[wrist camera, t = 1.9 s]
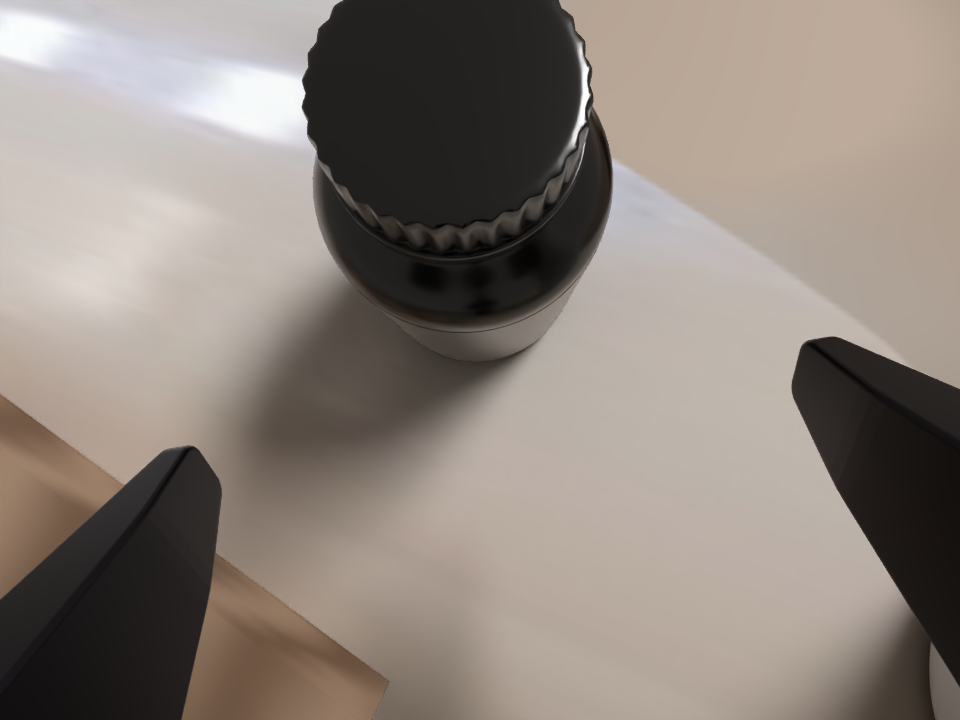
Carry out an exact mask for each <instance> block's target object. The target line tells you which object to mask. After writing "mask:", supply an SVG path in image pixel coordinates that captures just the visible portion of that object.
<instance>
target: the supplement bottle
mask: <svg viewBox="0 0 960 720" xmlns="http://www.w3.org/2000/svg"><path fill="white" fill-rule="evenodd" d="M591 77H592V67H591V65H590V63H589V61H588V60H587V59H586V57H585V41H584V39H583V38H582V37H581V36H580V35H579V34H578V33H577V32H576V31H575V24H574V19H573V17H572V16H571V15H570V14H569V13H568V12H566V11H565V10H564V9H562V8H561V6H560V3H559V0H343V1H341V2H339V3H338V4H336V5H335V6H334V7H333V10H332V12H331V15H330V18H329V20H328V21H326V22H325V23H324V24H323V25H322V26H321V27H320V28H319V29H318V34H317V42H316V43H315V45H314V46H313V47H312V48H311V50H310V51H309V52H308V69H307V71H306V72H305V74H304V77H303V79H302V83H303V87H304V90H305V93H306V94H305V98H304V100H303V104H302V110H303V113H304V115H305V117H306V119H307V121H308V125H307V135H308V139H309V141H310V142H311V144H312V145H313V147H314V148H315V149H316V151H317V152H316V157H315V163H314V171H313V198H314V205H315V212H316V216H317V220H318V224H319V228H320V231H321V233H322V236H323V239H324V241H325V244H326V246H327V248H328V250H329V252H330V254H331V255H332V257H333V259H334V260H335V262H336V264H337V265H338V267H339V268H340V269H341V271H342V272H343V273H344V274H345V276H346V277H347V278H348V280H349V281H350V282H351V283H352V284H353V285H354V286H355V287H356V289H357V290H358V291H359V292H360V293H361V294H362V295H363V296H365V297H366V298H367V299H368V300H369V301H370V302H372V303H373V304H374V305H375V306H376V307H377V308H378V309H380V310H381V311H382V312H383V313H384V314H385V315H387V316H388V317H389V318H390V319H391V320H392V321H394V322H395V323H396V324H397V325H398V326H399V327H400V328H402V329H403V330H404V331H405V332H406V333H407V334H409V335H410V336H411V337H412V338H413V339H415V340H416V341H418V342H419V343H420V344H422V345H423V346H425V347H426V348H428V349H430V350H432V351H433V352H436V353H438V354H440V355H443V356H446V357H449V358H453V359H457V360H463V361H477V362H480V361H490V360H496V359H500V358H504V357H507V356H510V355H512V354H515V353H517V352H519V351H521V350H523V349H525V348H526V347H528V346H530V345H531V344H533V343H534V342H535V341H536V340H538V339H539V338H540V337H541V336H542V335H543V334H544V333H545V332H546V331H547V330H548V329H549V328H550V327H551V326H552V325H553V323H554V322H555V320H556V319H557V318H558V316H559V315H560V313H561V312H562V310H563V308H564V306H565V305H566V303H567V301H568V299H569V298H570V296H571V294H572V292H573V291H574V289H575V287H576V285H577V284H578V282H579V280H580V279H581V277H582V275H583V273H584V272H585V270H586V268H587V266H588V265H589V263H590V261H591V259H592V257H593V256H594V254H595V252H596V250H597V248H598V245H599V243H600V241H601V238H602V236H603V233H604V230H605V227H606V224H607V221H608V217H609V213H610V208H611V203H612V194H613V168H612V159H611V154H610V149H609V144H608V141H607V137H606V134H605V131H604V129H603V126H602V124H601V122H600V119H599V117H598V115H597V113H596V112H595V110H594V108H593V106H592V105H593V93H592V89H591V87H590V82H591Z"/></svg>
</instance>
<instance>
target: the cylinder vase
mask: <svg viewBox="0 0 960 720" xmlns="http://www.w3.org/2000/svg"><path fill="white" fill-rule="evenodd" d="M929 678H930V692H931V699H932V705H933V711H934V715H935V720H960V687H959V686H958V684H957V683H956V681H955V679H954V678H953V676H952V675H951V673H950V671H949V670H948V668H947V667H946V665H945V663H944V662H943V660H942V658H941V657H940V655H939V654H938V652H937V650H936V649H935V647H934V646H933V644H932V642H931V647H930V660H929Z"/></svg>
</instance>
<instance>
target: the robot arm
mask: <svg viewBox="0 0 960 720" xmlns="http://www.w3.org/2000/svg"><path fill="white" fill-rule="evenodd" d="M792 394H793V398H794V400H795V403H796V405H797V407H798V409H799V411H800V413H801V415H802V417H803V420H804V422H805V424H806V426H807V428H808V430H809V432H810V434H811V437H812V439H813V441H814V443H815V445H816V447H817V449H818V451H819V453H820V456H821V458H822V460H823V462H824V464H825V466H826V468H827V470H828V473H829V475H830V477H831V478H832V480H833V482H834V484H835V486H836V488H837V490H838V492H839V493H840V495H841V497H842V498H843V500H844V502H845V504H846V505H847V507H848V508H849V510H850V512H851V513H852V515H853V516H854V518H855V520H856V521H857V523H858V524H859V526H860V528H861V529H862V531H863V533H864V534H865V536H866V537H867V539H868V541H869V542H870V544H871V545H872V547H873V549H874V550H875V552H876V554H877V555H878V557H879V558H880V560H881V562H882V563H883V565H884V566H885V568H886V570H887V571H888V573H889V575H890V576H891V578H892V579H893V581H894V583H895V584H896V586H897V587H898V589H899V591H900V592H901V594H902V595H903V597H904V599H905V600H906V602H907V604H908V605H909V607H910V608H911V610H912V612H913V613H914V615H915V616H916V618H917V620H918V621H919V623H920V625H921V626H922V628H923V629H924V631H925V633H926V634H927V636H928V637H929V639H930V641H931V642H932V644H933V646H934V647H935V649H936V650H937V652H938V654H939V655H940V657H941V658H942V660H943V662H944V663H945V665H946V667H947V668H948V670H949V671H950V673H951V675H952V676H953V678H954V679H955V681H956V683H957V684H958V686H959V687H960V389H958V388H956V387H953V386H951V385H949V384H946V383H944V382H942V381H939V380H937V379H935V378H932V377H930V376H928V375H925V374H923V373H921V372H918V371H916V370H914V369H911V368H909V367H907V366H904V365H902V364H900V363H897V362H895V361H893V360H890V359H888V358H886V357H883V356H881V355H879V354H876V353H874V352H872V351H869V350H867V349H865V348H862V347H860V346H858V345H855V344H853V343H851V342H848V341H846V340H844V339H841V338H838V337H824V338H818V339H812V340H808V341H806V342H805V343H804V344H803V345H802V346H801V348H800V352H799V356H798V359H797V363H796V367H795V371H794V375H793V379H792ZM221 497H222V489H221V484H220V481H219V479H218V477H217V476H216V474H215V473H214V471H213V470H212V468H211V467H210V466H209V464H208V463H207V461H206V460H205V458H204V457H203V455H202V454H201V452H200V451H199V450H198V449H197V448H196V447H194V446H189V445H188V446H182V447H176V448H170V449H167V450H164V451H162V452H161V453H160V454H159V455H158V456H157V457H155V458H154V459H153V460H152V461H151V462H150V463H149V464H148V465H147V466H146V467H145V468H143V469H142V470H141V471H140V472H139V473H138V474H137V475H136V476H135V477H134V478H132V479H131V480H130V481H129V482H128V483H127V484H126V485H125V486H124V487H123V488H122V489H120V490H119V491H118V492H117V493H116V494H115V495H114V496H113V497H112V498H111V499H110V500H108V501H107V502H106V503H105V504H104V505H103V506H102V507H101V508H100V509H99V510H97V511H96V512H95V513H94V514H93V515H92V516H91V517H90V518H89V519H88V520H87V521H85V522H84V523H83V524H82V525H81V526H80V527H79V528H78V529H77V530H76V531H74V532H73V533H72V534H71V535H70V536H69V537H68V538H67V539H66V540H65V541H63V542H62V543H61V544H60V545H59V546H58V547H57V548H56V549H55V550H54V551H53V552H51V553H50V554H49V555H48V556H47V557H46V558H45V559H44V560H43V561H42V562H40V563H39V564H38V565H37V566H36V567H35V568H34V569H33V570H32V571H31V572H30V573H28V574H27V575H26V576H25V577H24V578H23V579H22V580H21V581H20V582H19V583H17V584H16V585H15V586H14V587H13V588H12V589H11V590H10V591H9V592H8V593H7V594H5V595H4V596H3V597H2V598H1V599H0V720H182V716H183V711H184V707H185V702H186V698H187V694H188V689H189V685H190V680H191V676H192V671H193V667H194V663H195V658H196V654H197V649H198V645H199V640H200V636H201V632H202V627H203V623H204V618H205V614H206V609H207V605H208V600H209V595H210V590H211V584H212V577H213V569H214V560H215V551H216V542H217V533H218V524H219V515H220V506H221Z"/></svg>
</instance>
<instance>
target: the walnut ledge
mask: <svg viewBox="0 0 960 720" xmlns="http://www.w3.org/2000/svg"><path fill="white" fill-rule="evenodd" d="M123 487H124V485H123V484H121V483H120V482H118V481H117V480H116V479H114V478H113V477H112V476H110V475H109V474H108V473H106V472H105V471H104V470H102V469H101V468H100V467H98V466H97V465H95V464H94V463H93V462H91V461H90V460H89V459H87V458H86V457H85V456H83V455H82V454H81V453H79V452H78V451H76V450H75V449H74V448H72V447H71V446H70V445H68V444H67V443H66V442H64V441H63V440H62V439H60V438H59V437H58V436H56V435H55V434H53V433H52V432H51V431H49V430H48V429H47V428H45V427H44V426H43V425H41V424H40V423H39V422H37V421H36V420H34V419H33V418H32V417H30V416H29V415H28V414H26V413H25V412H24V411H22V410H21V409H20V408H18V407H17V406H16V405H14V404H13V403H11V402H10V401H9V400H7V399H6V398H5V397H3V396H2V395H1V394H0V599H1V598H2V597H3V596H4V595H5V594H7V593H8V592H9V591H10V590H11V589H12V588H13V587H14V586H15V585H16V584H17V583H19V582H20V581H21V580H22V579H23V578H24V577H25V576H26V575H27V574H28V573H30V572H31V571H32V570H33V569H34V568H35V567H36V566H37V565H38V564H39V563H40V562H42V561H43V560H44V559H45V558H46V557H47V556H48V555H49V554H50V553H51V552H53V551H54V550H55V549H56V548H57V547H58V546H59V545H60V544H61V543H62V542H63V541H65V540H66V539H67V538H68V537H69V536H70V535H71V534H72V533H73V532H74V531H76V530H77V529H78V528H79V527H80V526H81V525H82V524H83V523H84V522H85V521H87V520H88V519H89V518H90V517H91V516H92V515H93V514H94V513H95V512H96V511H97V510H99V509H100V508H101V507H102V506H103V505H104V504H105V503H106V502H107V501H108V500H110V499H111V498H112V497H113V496H114V495H115V494H116V493H117V492H118V491H119V490H120V489H122V488H123ZM388 683H389V681H388V680H387V679H385V678H384V677H383V676H381V675H380V674H378V673H377V672H376V671H374V670H373V669H372V668H370V667H369V666H368V665H366V664H365V663H364V662H362V661H361V660H360V659H358V658H357V657H355V656H354V655H353V654H351V653H350V652H349V651H347V650H346V649H345V648H343V647H342V646H341V645H339V644H338V643H337V642H335V641H334V640H332V639H331V638H330V637H328V636H327V635H326V634H324V633H323V632H322V631H320V630H319V629H318V628H316V627H315V626H313V625H312V624H311V623H309V622H308V621H307V620H305V619H304V618H303V617H301V616H300V615H299V614H297V613H296V612H295V611H293V610H292V609H290V608H289V607H288V606H286V605H285V604H284V603H282V602H281V601H280V600H278V599H277V598H276V597H274V596H273V595H271V594H270V593H269V592H267V591H266V590H265V589H263V588H262V587H261V586H259V585H258V584H257V583H255V582H254V581H253V580H251V579H250V578H248V577H247V576H246V575H244V574H243V573H242V572H240V571H239V570H238V569H236V568H235V567H234V566H232V565H231V564H230V563H228V562H227V561H225V560H224V559H223V558H221V557H220V556H219V555H217V554H216V553H215V560H214V569H213V577H212V584H211V590H210V595H209V600H208V605H207V609H206V614H205V618H204V623H203V627H202V632H201V636H200V640H199V645H198V649H197V654H196V658H195V663H194V667H193V671H192V676H191V680H190V685H189V689H188V694H187V698H186V702H185V707H184V711H183V716H182V720H372V718H373V716H374V714H375V712H376V709H377V707H378V705H379V703H380V701H381V699H382V696H383V694H384V692H385V690H386V688H387V686H388Z"/></svg>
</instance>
